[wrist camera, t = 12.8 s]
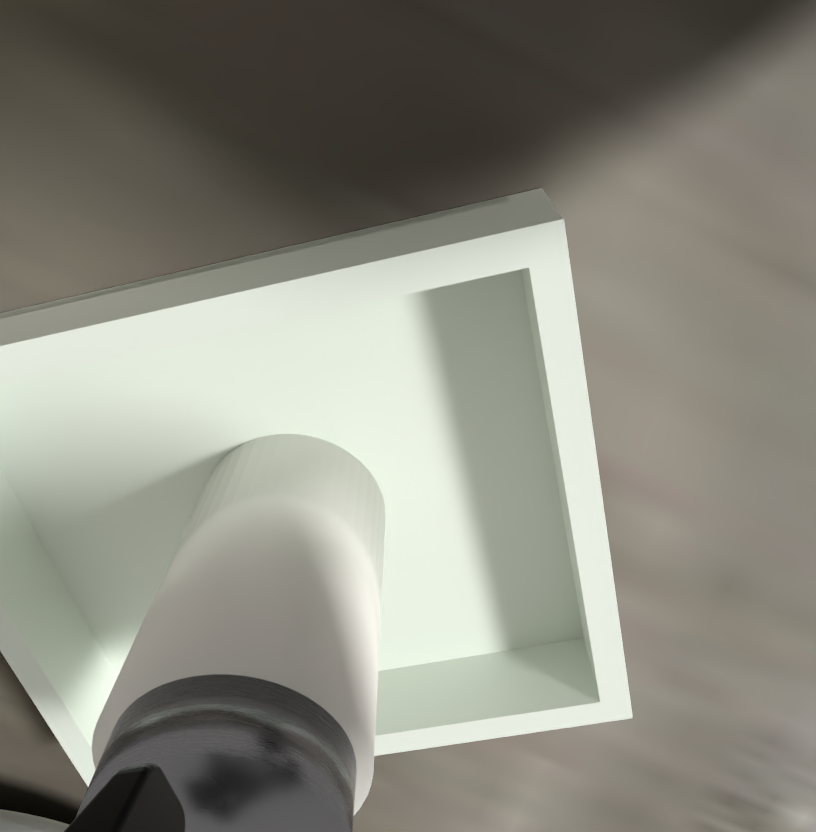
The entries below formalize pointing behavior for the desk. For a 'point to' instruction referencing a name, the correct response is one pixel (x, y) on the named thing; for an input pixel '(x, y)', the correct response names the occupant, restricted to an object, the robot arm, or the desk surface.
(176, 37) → the desk surface
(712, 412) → the desk surface
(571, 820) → the desk surface
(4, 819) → the serving bowl
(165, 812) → the robot arm
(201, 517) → the cylinder
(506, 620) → the tray
